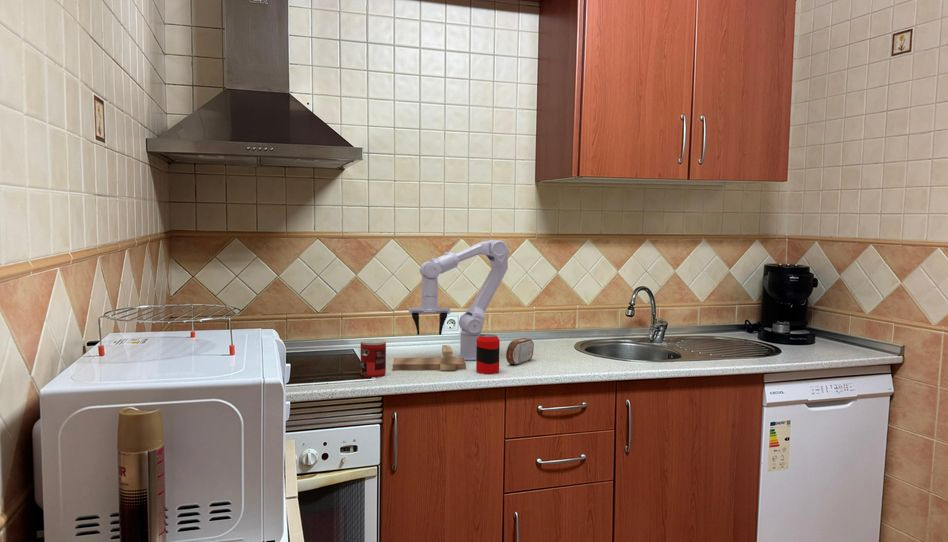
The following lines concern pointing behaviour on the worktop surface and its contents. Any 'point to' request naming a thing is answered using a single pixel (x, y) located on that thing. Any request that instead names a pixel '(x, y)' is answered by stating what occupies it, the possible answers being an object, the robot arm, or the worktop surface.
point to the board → (423, 363)
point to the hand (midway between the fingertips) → (429, 334)
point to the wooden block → (447, 358)
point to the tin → (519, 351)
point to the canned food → (373, 357)
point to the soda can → (487, 354)
